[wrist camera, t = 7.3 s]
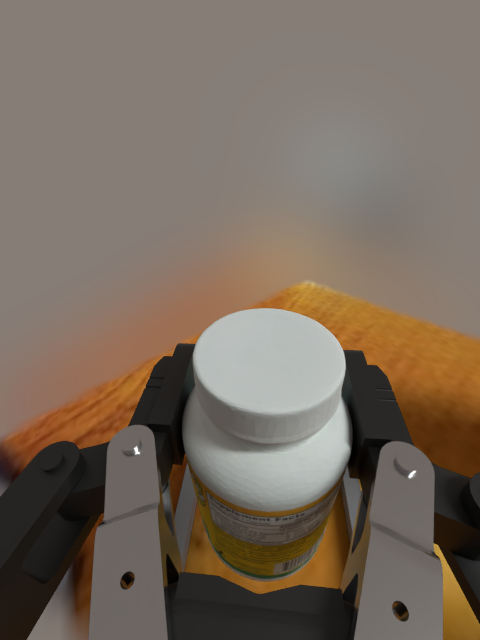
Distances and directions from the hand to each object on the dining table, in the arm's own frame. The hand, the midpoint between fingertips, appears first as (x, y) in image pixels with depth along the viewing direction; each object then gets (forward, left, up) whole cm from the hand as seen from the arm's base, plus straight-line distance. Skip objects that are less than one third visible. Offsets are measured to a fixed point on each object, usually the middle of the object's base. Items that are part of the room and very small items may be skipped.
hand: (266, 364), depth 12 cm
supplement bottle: (0, -3, -7) cm, 7 cm away
